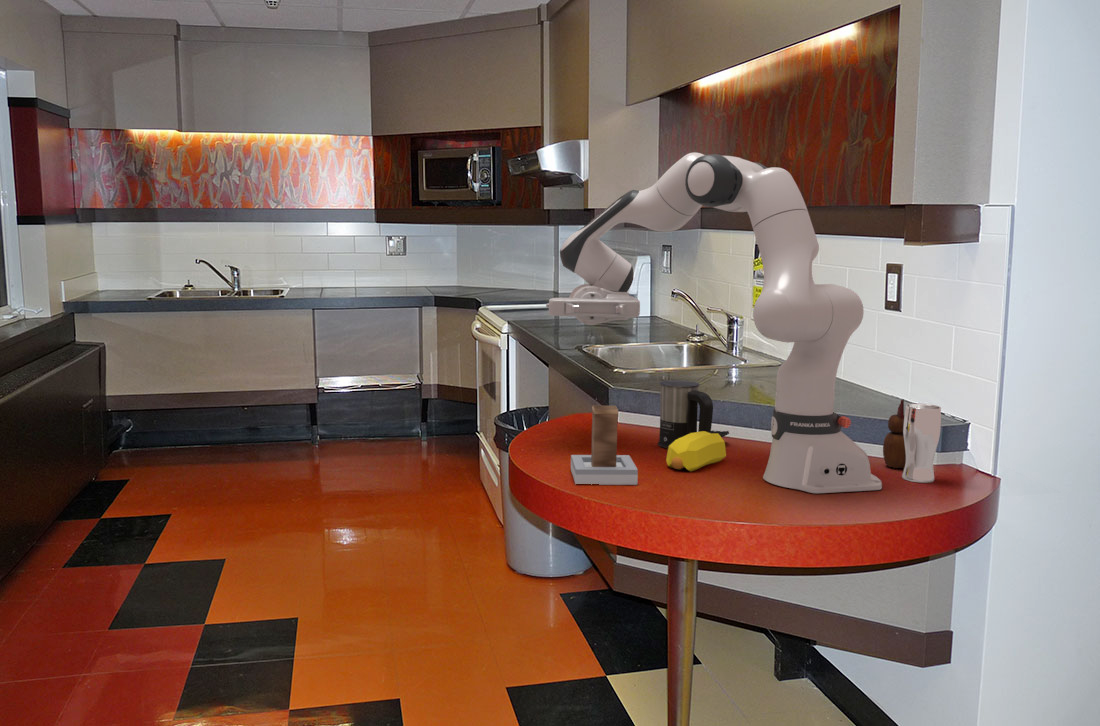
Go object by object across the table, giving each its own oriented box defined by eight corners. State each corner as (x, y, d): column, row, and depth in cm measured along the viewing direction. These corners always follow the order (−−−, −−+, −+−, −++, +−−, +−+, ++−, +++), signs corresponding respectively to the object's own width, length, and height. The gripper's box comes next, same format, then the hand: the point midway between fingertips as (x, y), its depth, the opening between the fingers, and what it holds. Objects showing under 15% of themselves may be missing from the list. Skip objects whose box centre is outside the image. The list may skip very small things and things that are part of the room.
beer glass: (937, 477, 188) (942, 405, 186) (936, 485, 181) (941, 410, 179) (900, 473, 190) (905, 402, 188) (898, 480, 184) (903, 407, 182)
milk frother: (650, 446, 211) (652, 383, 209) (679, 435, 224) (681, 375, 222) (708, 455, 203) (710, 389, 201) (734, 443, 217) (737, 380, 215)
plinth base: (628, 469, 189) (629, 455, 189) (637, 484, 177) (637, 469, 177) (570, 469, 189) (571, 454, 188) (575, 484, 177) (575, 469, 176)
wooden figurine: (907, 472, 191) (912, 401, 189) (879, 468, 194) (883, 398, 192) (914, 465, 197) (919, 396, 195) (886, 461, 200) (890, 394, 198)
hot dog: (658, 469, 190) (690, 476, 186) (659, 438, 190) (692, 443, 185) (701, 454, 204) (732, 460, 200) (702, 425, 204) (733, 430, 199)
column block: (613, 464, 185) (615, 405, 184) (616, 469, 181) (618, 409, 179) (590, 464, 185) (592, 405, 183) (593, 469, 180) (594, 409, 179)
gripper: (545, 290, 209) (549, 294, 196) (634, 292, 211) (644, 296, 197) (545, 318, 210) (548, 324, 197) (633, 319, 211) (643, 325, 198)
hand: (597, 310), depth 197 cm, fingers open, 8 cm apart
